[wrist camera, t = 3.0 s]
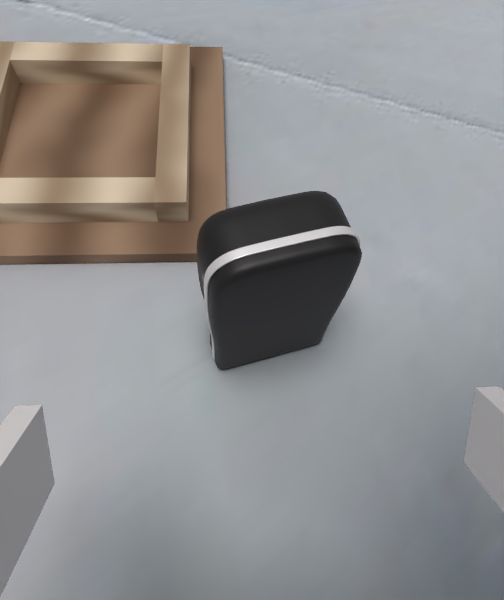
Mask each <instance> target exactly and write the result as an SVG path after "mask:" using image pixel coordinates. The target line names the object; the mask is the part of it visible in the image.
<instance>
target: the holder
mask: <svg viewBox="0 0 504 600" xmlns="http://www.w3.org/2000/svg"><path fill="white" fill-rule="evenodd" d="M225 209H226V176H225V135H224V94H223V53H222V47H190V44H132V43H59V42H0V264H56V263H128V262H197V239H198V233H199V229H200V228H201V226H202V224H203V223H204V222H205V221H206V220H207V219H208V218H209V217H210V216H211V215H213V214H215V213H217V212H219V211H222V210H225Z"/></svg>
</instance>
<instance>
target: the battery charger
mask: <svg viewBox="0 0 504 600" xmlns="http://www.w3.org/2000/svg"><path fill="white" fill-rule="evenodd" d="M361 255H362V252H361V249H360V240H359V238H358V236H357V234H356V232H355V230H353V229H352V228H351V227H350V225H349V223H348V221H347V218H346V216H345V214H344V212H343V210H342V208H341V206H340V204H339V203H338V201H337V200H336V199H335V198H334V197H333V196H331V195H329V194H328V193H326V192H320V191H309V192H303V193H298V194H293V195H288V196H283V197H278V198H273V199H268V200H263V201H259V202H255V203H250V204H246V205H242V206H237V207H233V208H229V209H225V210H222V211H219V212H217V213H215V214H213V215H211V216H210V217H209V218H208V219H207V220H206V221H205V222H204V223H203V224H202V226H201V228H200V229H199V233H198V239H197V265H198V274H199V281H200V287H201V291H202V294H203V298H204V301H205V310H206V316H207V320H208V325H209V329H210V344H211V347H212V356H213V360H214V361H215V362H216V365H217V367H218V368H219V369H222V370H223V369H227V368H231V367H235V366H239V365H243V364H246V363H250V362H254V361H257V360H261V359H265V358H269V357H272V356H276V355H279V354H283V353H287V352H290V351H294V350H297V349H301V348H304V347H308V346H311V345H315V344H318V343H320V341H321V340H322V337H323V335H324V333H325V331H326V328H327V326H328V324H329V322H330V320H331V319H332V317H333V315H334V314H335V312H336V310H337V309H338V307H339V305H340V303H341V301H342V300H343V298H344V296H345V294H346V292H347V290H348V288H349V286H350V284H351V282H352V280H353V278H354V276H355V273H356V271H357V269H358V266H359V264H360V260H361Z"/></svg>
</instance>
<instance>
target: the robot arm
mask: <svg viewBox="0 0 504 600" xmlns="http://www.w3.org/2000/svg"><path fill="white" fill-rule="evenodd" d="M464 463H465V465H466V466H467V467H468V468H469V470H470V471H471V472H472V474H473V475H474V476H475V477H476V479H477V480H478V481H479V482H480V484H481V485H482V486H483V488H484V489H485V490H486V491H487V493H488V494H489V495H490V496H491V498H492V499H493V500H494V502H495V503H496V504H497V505H498V507H499V508H500V509H501V510H502V512H503V513H504V390H503V389H502V388H500V387H499V386H495V387H475V393H474V400H473V406H472V412H471V419H470V425H469V432H468V438H467V444H466V451H465V457H464ZM53 486H54V477H53V471H52V464H51V458H50V452H49V445H48V439H47V433H46V427H45V420H44V414H43V408H42V405H27V406H15V407H14V408H13V409H12V411H11V412H10V413H9V414H8V416H7V417H6V418H5V420H4V421H3V422H2V423H1V425H0V596H1V594H2V592H3V590H4V588H5V586H6V584H7V582H8V580H9V577H10V575H11V573H12V571H13V569H14V567H15V565H16V563H17V561H18V559H19V557H20V554H21V552H22V550H23V548H24V546H25V544H26V542H27V540H28V538H29V536H30V534H31V532H32V529H33V527H34V525H35V523H36V521H37V519H38V517H39V515H40V513H41V511H42V509H43V506H44V504H45V502H46V500H47V498H48V496H49V494H50V492H51V490H52V488H53Z"/></svg>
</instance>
